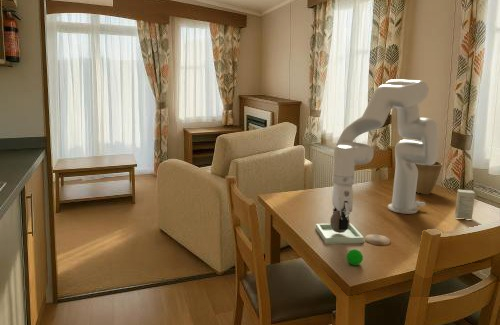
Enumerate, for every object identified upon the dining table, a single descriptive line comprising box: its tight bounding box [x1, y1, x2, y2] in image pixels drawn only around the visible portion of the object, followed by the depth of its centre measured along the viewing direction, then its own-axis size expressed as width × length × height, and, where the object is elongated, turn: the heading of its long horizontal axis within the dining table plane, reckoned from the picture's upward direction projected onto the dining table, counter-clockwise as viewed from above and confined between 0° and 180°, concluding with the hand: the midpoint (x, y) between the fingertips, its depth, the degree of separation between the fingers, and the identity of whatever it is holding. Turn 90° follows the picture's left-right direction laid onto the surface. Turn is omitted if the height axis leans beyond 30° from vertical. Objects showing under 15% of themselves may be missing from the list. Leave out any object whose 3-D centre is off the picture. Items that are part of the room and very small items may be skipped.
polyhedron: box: [346, 248, 364, 266], centre depth 131 cm, size 5×5×5 cm
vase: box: [329, 209, 350, 233], centre depth 153 cm, size 7×7×9 cm
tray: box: [315, 222, 365, 245], centre depth 154 cm, size 14×14×2 cm
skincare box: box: [454, 189, 476, 220], centre depth 174 cm, size 6×4×12 cm
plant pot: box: [415, 161, 443, 195], centre depth 211 cm, size 15×15×16 cm
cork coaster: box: [364, 233, 391, 247], centre depth 151 cm, size 9×9×1 cm
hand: (339, 225), depth 154 cm, fingers closed on vase, 6 cm apart
